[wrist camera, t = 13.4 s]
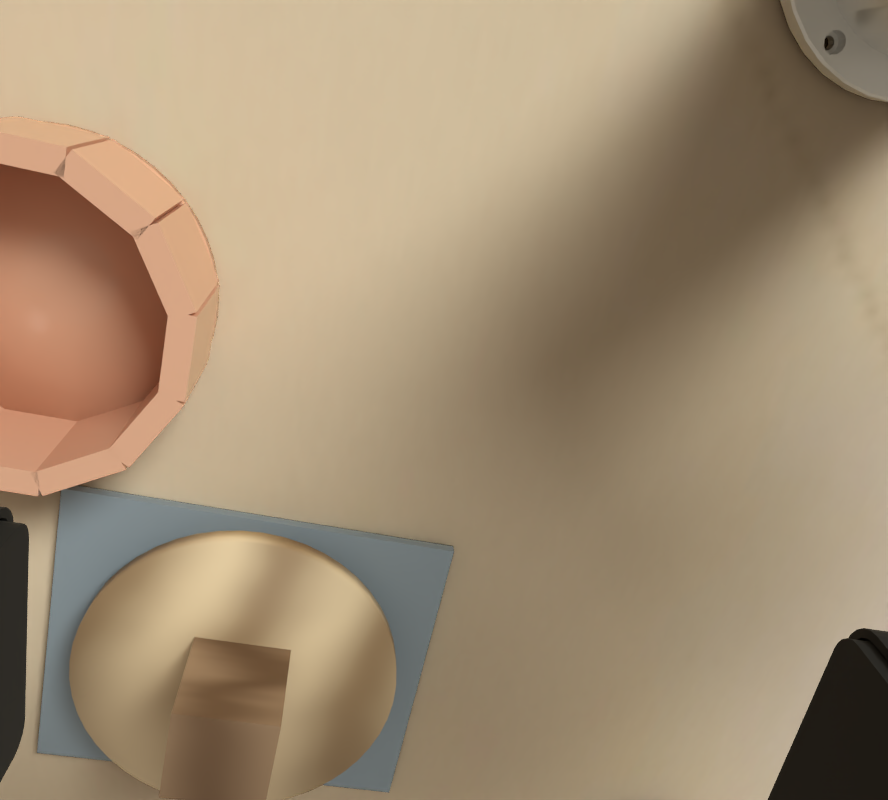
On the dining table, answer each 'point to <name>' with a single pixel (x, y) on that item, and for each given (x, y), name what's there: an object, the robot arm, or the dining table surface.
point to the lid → (233, 668)
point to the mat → (160, 521)
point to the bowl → (93, 305)
